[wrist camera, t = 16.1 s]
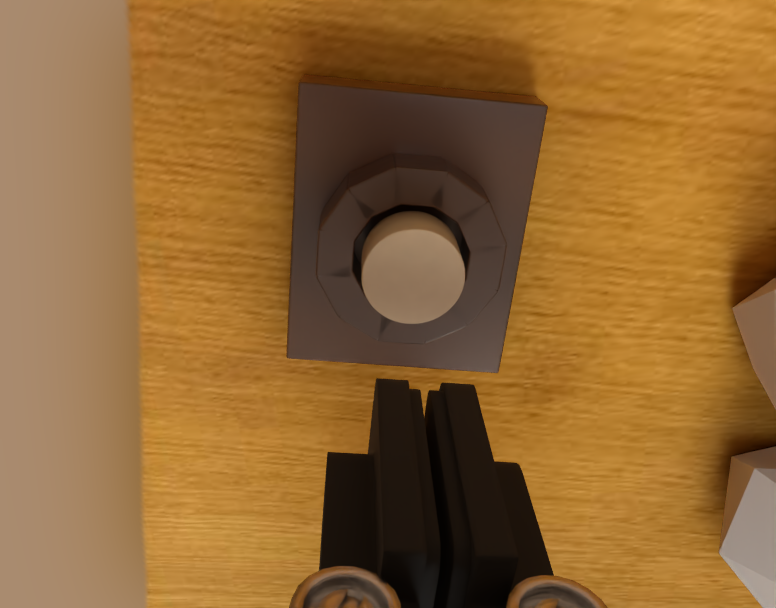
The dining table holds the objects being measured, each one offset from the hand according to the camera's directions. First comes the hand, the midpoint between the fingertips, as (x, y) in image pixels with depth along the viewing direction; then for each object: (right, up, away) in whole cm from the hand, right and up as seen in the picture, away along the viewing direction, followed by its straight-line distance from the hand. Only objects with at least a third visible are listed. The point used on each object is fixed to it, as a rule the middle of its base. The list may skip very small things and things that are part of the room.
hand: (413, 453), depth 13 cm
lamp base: (0, +5, +14) cm, 15 cm away
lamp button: (0, +4, +12) cm, 12 cm away
